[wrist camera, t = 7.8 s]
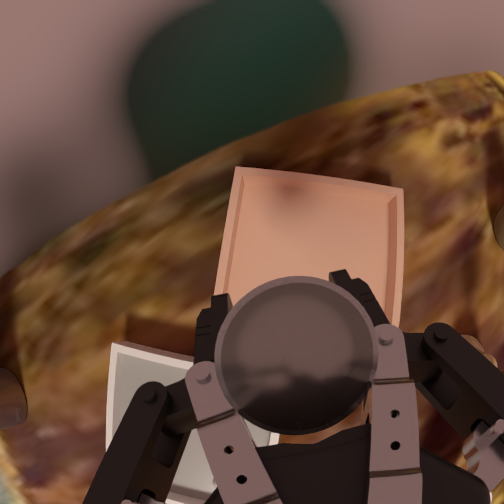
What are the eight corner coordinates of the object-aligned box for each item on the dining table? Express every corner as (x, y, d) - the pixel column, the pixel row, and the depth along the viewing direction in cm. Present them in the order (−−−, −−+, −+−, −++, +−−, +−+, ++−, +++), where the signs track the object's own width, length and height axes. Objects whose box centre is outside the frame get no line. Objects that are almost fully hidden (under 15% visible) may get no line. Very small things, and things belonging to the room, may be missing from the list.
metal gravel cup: (241, 370, 16) (202, 421, 7) (254, 293, 17) (228, 263, 8) (319, 381, 16) (361, 442, 7) (332, 304, 16) (389, 286, 8)
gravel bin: (119, 471, 28) (106, 481, 24) (126, 341, 31) (111, 342, 28) (261, 506, 26) (260, 522, 22) (287, 371, 29) (289, 377, 26)
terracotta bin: (214, 341, 31) (206, 344, 27) (239, 180, 34) (235, 166, 31) (381, 359, 29) (393, 364, 25) (392, 200, 33) (403, 189, 29)
